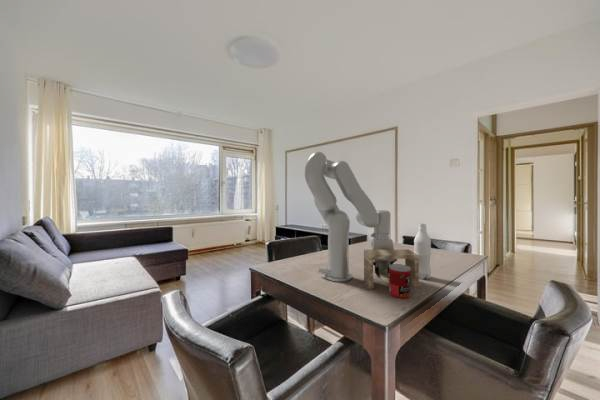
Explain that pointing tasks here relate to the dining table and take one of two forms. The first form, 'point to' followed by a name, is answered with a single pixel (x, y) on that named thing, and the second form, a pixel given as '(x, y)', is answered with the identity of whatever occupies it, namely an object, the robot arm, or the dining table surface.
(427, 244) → the water bottle
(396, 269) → the canned food
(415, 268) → the oak shelf
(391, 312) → the dining table surface
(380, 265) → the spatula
